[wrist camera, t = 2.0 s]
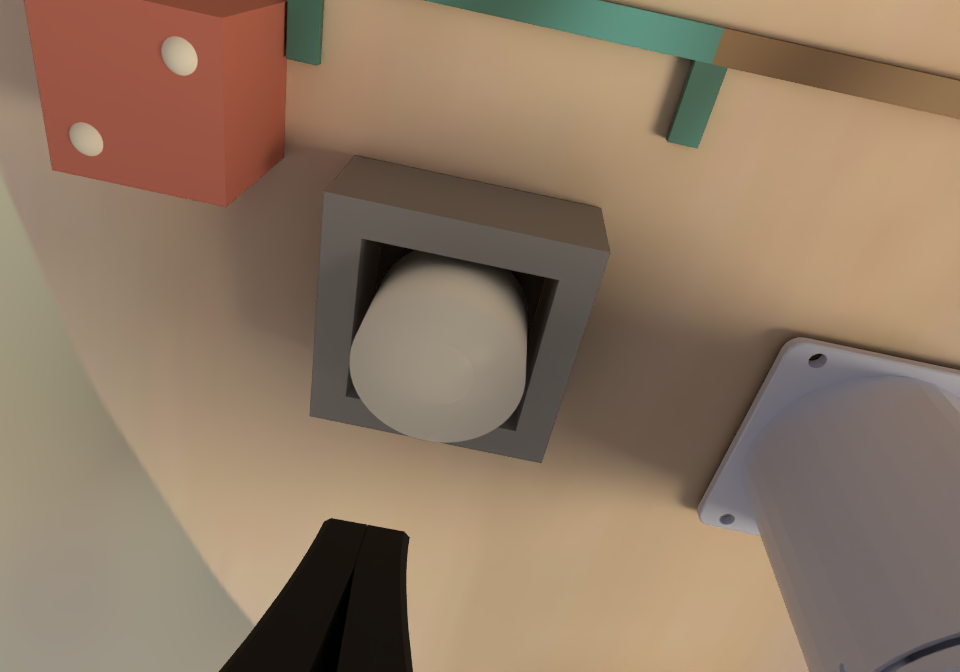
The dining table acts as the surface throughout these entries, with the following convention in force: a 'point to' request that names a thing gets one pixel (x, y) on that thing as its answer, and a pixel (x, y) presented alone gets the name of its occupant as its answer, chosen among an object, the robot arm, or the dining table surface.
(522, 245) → the box
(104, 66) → the die
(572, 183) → the dining table surface
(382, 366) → the dome
